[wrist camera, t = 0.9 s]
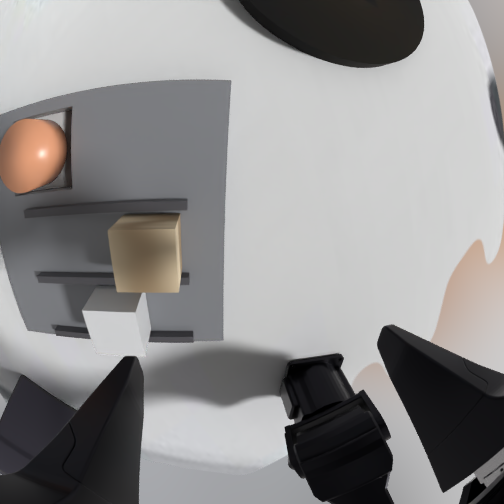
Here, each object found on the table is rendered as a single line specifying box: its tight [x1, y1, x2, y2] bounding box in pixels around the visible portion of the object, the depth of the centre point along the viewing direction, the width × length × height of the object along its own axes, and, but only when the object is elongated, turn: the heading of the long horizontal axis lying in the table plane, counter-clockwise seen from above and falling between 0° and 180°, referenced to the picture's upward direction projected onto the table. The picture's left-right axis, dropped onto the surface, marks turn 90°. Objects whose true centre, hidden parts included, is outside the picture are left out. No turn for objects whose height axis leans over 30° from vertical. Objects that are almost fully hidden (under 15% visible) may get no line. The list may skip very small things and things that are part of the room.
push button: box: [0, 119, 67, 193], centre depth 13 cm, size 5×5×3 cm
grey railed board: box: [0, 80, 231, 343], centre depth 17 cm, size 20×20×2 cm
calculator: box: [0, 375, 77, 475], centre depth 18 cm, size 11×4×15 cm, turn 45°
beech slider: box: [108, 213, 182, 293], centre depth 17 cm, size 4×4×4 cm
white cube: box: [82, 285, 151, 357], centre depth 18 cm, size 4×4×4 cm
